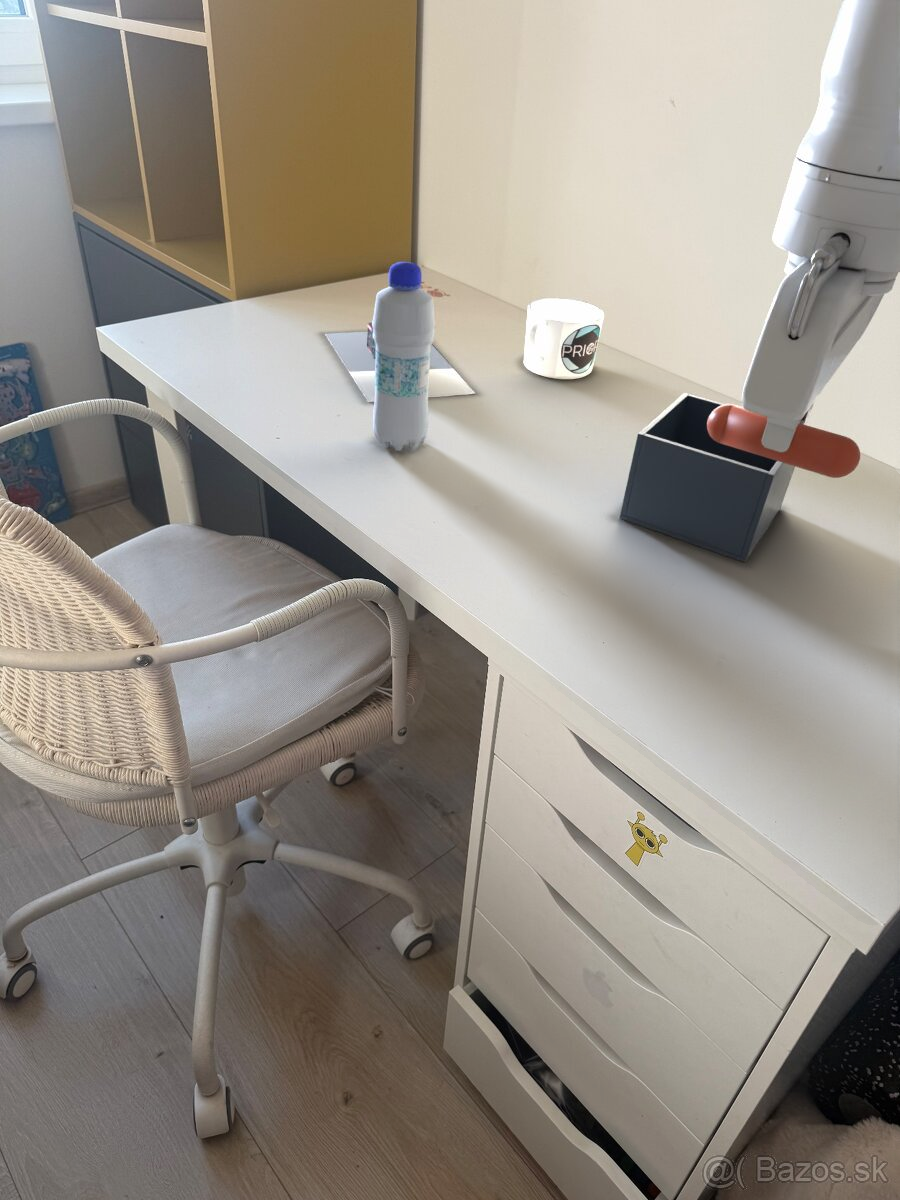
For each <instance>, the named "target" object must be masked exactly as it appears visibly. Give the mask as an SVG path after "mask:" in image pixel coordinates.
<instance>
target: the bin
mask: <svg viewBox="0 0 900 1200" xmlns="http://www.w3.org/2000/svg"><path fill="white" fill-rule="evenodd" d="M725 404H726V403H723V402H720V401H717V400H713V399H708V398H706V397H702V396H699V395H696V394H695V395H694V394H690V393H687V392H683V393H682V394H681V395H680V396H679V397H677V398H676V400H674V401H673V402H672V403H671V404H669V406H667V408H665V409H664V410H663V411H662V412H661V413H659V414H658V415H657V416H656V417H655V418H654V419H653V420H652V421H651V422H649V423H648V424H647V425H646V426H644V427H643V429H642V430H640V431H639V432H638V433H637V436H636V441H635V444H634V449H633V454H632V459H631V463H630V467H629V473H628V477H627V482H626V486H625V490H624V495H623V500H622V503H621V504H622V505H621V510H620V513H619V519H621V520H624V521H626V522H629V523H632V524H634V525H638V526H641V527H643V528H646V529H649V530H652V531H654V532H658V533H660V534H663V535H666V536H669V537H671V538H674V539H677V540H679V541H683V542H686V543H688V544H691V545H694V546H697V547H699V548H703V549H705V550H708V551H711V552H714V553H717V554H720V555H722V556H725V557H728V558H730V559H734V560H736V561H739V562H742V563H746V562H747V561H748V559H749V557H750V556H751V554H752V553H753V551H755V548H756V546H757V545H758V543H759V542H760V541H761V539H762V538H763V536H764V534H765V533H766V531H767V530H768V529H769V527H770V525H771V524H772V522H773V521H774V519H775V517H776V516H777V514H778V513H779V512H780V510H781V508H782V505H783V502H784V500H785V497H786V494H787V492H788V491H787V490H788V488H789V486H790V482H791V480H792V476H793V474H794V471H795V469H796V466H792V465H789V464H786V463H783V462H779V461H776V460H773V459H770V458H766V457H763V456H760V455H757V454H753V453H750V452H747V451H744V450H740V449H737V448H734V447H731V446H727V445H724V444H721V443H718V442H716V441H715V440H713V439H712V437H711V436H710V435H709V433H708V430H707V421H708V418H709V416H710V414H711V413H712V412H713V411H714V410H715V409H716V408H717V407H719V406H721V405H725Z"/></svg>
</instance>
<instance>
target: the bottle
mask: <svg viewBox="0 0 900 1200" xmlns="http://www.w3.org/2000/svg"><path fill="white" fill-rule="evenodd" d="M422 274H423V273H422V270H421V268H420V266H419V265H418V264H416V263H414V262H409V261H398V262H395V263H392V265H390V267H389V270H388V287H385V288H383V289H381V290H379V291H378V292H377V293H376V295H375V303H374V310H373V317H372V321H371V322H372V327H373V339H374V341H375V343H376V361H375V401H374V402H373V412H372V414H373V415H372V427H373V433H374V436H375V438H376V440H377V441H378V442H379V444H380V445H381V447H383V448H385V449H388V448H389V447H390V446H391V443H392V444H393V446H394V449H395V451H397V452H401V451H403V449H404V446H405V444H408V448H409V449H410V450H415V449H417V448H419V446H420V444H423V442H425V440H426V439H427V435H428V431H429V397H428V384H429V365H430V347H431V344H432V345H433V343H434V342H435V336H434V333H435V330H436V323H435V311H434V310H435V309H434V298H433V296H432V295H431V293H430V292H428V291H426V290H424V289H422V278H423V277H422Z"/></svg>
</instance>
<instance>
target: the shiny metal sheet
mask: <svg viewBox="0 0 900 1200" xmlns="http://www.w3.org/2000/svg"><path fill="white" fill-rule="evenodd" d="M324 335H325V336H326V338H327V340H328V341H329V343H330V345H331V346H332V347H333V349H334V351H335V352H336V354H337V355H338V357H339V359H340V360H341V362H342V364H343V365H344V366H345V368H346V369H347V371H348V372H349V374H350V376H351V377H352V379H353V381H354V382H355V383H356V385H357V387H358V388H359V390H360V392H361V393H362V395H363V396H364V398H365V399H366V401H367V402H368V403H374V401H375V361H376V343H375V341H374V339H373V327H372V321H371V322H367V331H352V332H350V331H349V332H348V331H347V332H332V333H324ZM475 394H476V392H475V391H474V390H473V389H472V387H470V386H469V384H468V383H467V382H466V380H464V378H462V376H461V375H460V374H459V373H458V372H457V370H455V368H454V367H453V366H452V365H451V364H450V363H449V361H447V359H446V358H445V357H444V356H443V355H442V354H441V353H440V351H439V350H438V349H437V348H436V347H435V346H434V345H433V343H432V344H431V347H430V365H429V384H428V398H439V397H450V396H451V397H452V396H464V395H475Z"/></svg>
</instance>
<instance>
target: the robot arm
mask: <svg viewBox="0 0 900 1200" xmlns="http://www.w3.org/2000/svg"><path fill="white" fill-rule="evenodd" d="M820 73H821V74H820V95H819V101H818V105H817V109H816V112H815V115H814V117H813V119H812V122H811V124H810V126H809V129H808V130H807V132H806V134H805V136H804V137H803V139H802V141H801V142H800V143H799V147H798V150H797V152H796V156H795V159H794V162H793V165H792V170H791V173H790V177H789V179H788V183H787V186H786V190H785V193H784V196H783V199H782V203H781V207H780V210H779V214H778V217H777V221H776V224H775V227H774V231H773V234H772V241H773V243H774V244H775V245H776V246H777V247H778V248H780V249H781V250H783V251H785V252H788V259H787V261H786V264H785V266H784V267H785V268H784V272H785V275H786V276H785V277H784V279H783V280H782V281H781V283H780V285H779V287H778V289H777V291H776V294H775V296H774V298H773V301H772V303H771V305H770V308H769V310H768V313H767V316H766V318H765V321H764V325H763V328H762V330H761V334H760V337H759V339H758V342H757V344H756V348H755V351H754V353H753V357H752V361H751V363H750V366H749V369H748V372H747V375H746V378H745V381H744V384H743V389H742V393H741V407H743V408H744V409H746V410H747V411H750V412H753V413H756V414H759V415H763V416H766V417H768V418H767V425H766V428H765V431H764V434H763V437H762V440H761V441H762V445H763V446H764V447H765V448H768V449H771V450H774V451H778V452H785V451H787V449H788V448H789V447H790V445H791V444H792V442H793V440H794V437H795V434H796V432H797V429H798V426H799V423H800V424H804V425H807V422H808V420H809V419H810V415H811V413H812V409H813V407H814V405H815V402H816V401H817V398H818V397H819V396H820V394H821V393H822V391H823V390H824V389H825V388H826V386H827V384H828V383H829V382H830V380H831V379H832V377H834V375H835V373H836V372H837V371H838V370H839V368H840V366H841V365H842V364H843V363H844V361H845V360H846V359H847V357H848V356H849V354H850V353H851V351H852V350H853V348H854V347H855V346H856V345H857V343H858V342H859V341H860V339H861V338H862V337H863V335H864V333H865V331H866V330H867V328H868V327H869V325H870V323H871V321H872V319H873V317H874V316H875V314H876V312H877V310H878V308H879V306H880V304H881V302H882V300H883V298H884V296H885V294H889V293H890V292H891V291H892V290H893V287H894V285H895V282H896V279H897V277H898V274H899V273H900V0H842V2H841V5H840V8H839V10H838V13H837V17H836V19H835V23H834V26H833V29H832V33H831V36H830V39H829V42H828V45H827V49H826V51H825V55H824V59H823V63H822V66H821V72H820Z"/></svg>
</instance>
